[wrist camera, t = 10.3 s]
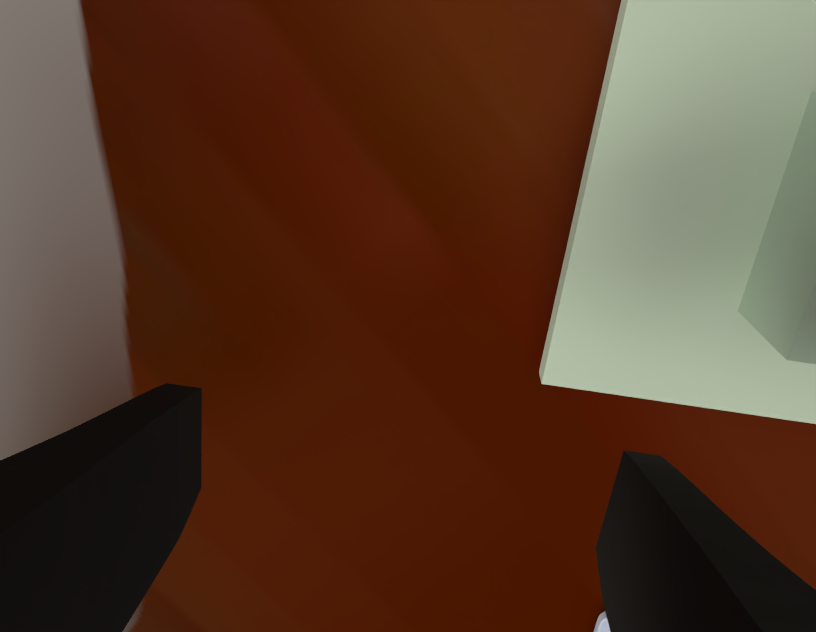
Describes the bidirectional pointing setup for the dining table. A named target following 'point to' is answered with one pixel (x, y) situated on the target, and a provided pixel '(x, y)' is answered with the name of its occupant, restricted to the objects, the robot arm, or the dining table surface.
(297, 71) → the dining table surface
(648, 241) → the lid
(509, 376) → the dining table surface
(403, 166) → the dining table surface
